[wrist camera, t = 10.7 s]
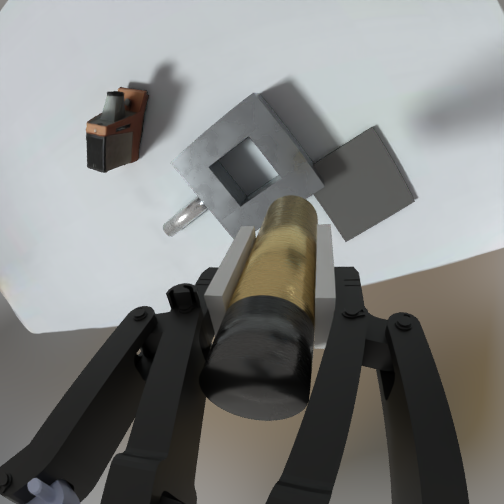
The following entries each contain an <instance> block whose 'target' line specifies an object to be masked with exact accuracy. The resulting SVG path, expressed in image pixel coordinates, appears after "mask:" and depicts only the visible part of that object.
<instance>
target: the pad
mask: <svg viewBox="0 0 504 504" xmlns="http://www.w3.org/2000/svg"><path fill="white" fill-rule="evenodd" d="M314 166H315V167H316V169H317V170H318V172H319V173H320V175H321V176H322V177H323V179H324V184H325V187H324V188H322V189H320V190H319V191H317V192H316V193H314V196H315V197H316V199H317V200H318V202H319V203H320V204H321V206H322V207H323V209H324V210H325V212H326V213H327V215H328V216H329V217H330V219H331V220H332V222H333V223H334V225H335V226H336V228H337V229H338V231H339V232H340V234H341V235H342V237H343V238H344V240H345V242H347V241H348V240H350V239H352V238H354V237H355V236H357V235H359V234H361V233H362V232H364V231H366V230H367V229H369V228H371V227H373V226H374V225H376V224H378V223H379V222H381V221H383V220H385V219H386V218H388V217H390V216H391V215H393V214H395V213H396V212H398V211H400V210H401V209H403V208H405V207H406V206H408V205H410V204H411V203H413V202H415V201H414V199H413V197H412V195H411V193H410V191H409V189H408V187H407V185H406V183H405V181H404V179H403V177H402V176H401V174H400V172H399V170H398V168H397V167H396V165H395V163H394V161H393V160H392V158H391V156H390V154H389V153H388V151H387V149H386V148H385V146H384V144H383V143H382V141H381V139H380V138H379V136H378V135H377V133H376V132H375V130H374V128H373V127H371V128H369V129H368V130H366V131H364V132H363V133H361V134H360V135H358V136H357V137H355V138H353V139H352V140H350V141H349V142H347V143H345V144H344V145H342V146H341V147H339V148H338V149H336V150H335V151H333V152H331V153H330V154H328V155H327V156H325V157H324V158H322V159H321V160H319V161H318V162H316V163H314Z"/></svg>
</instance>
